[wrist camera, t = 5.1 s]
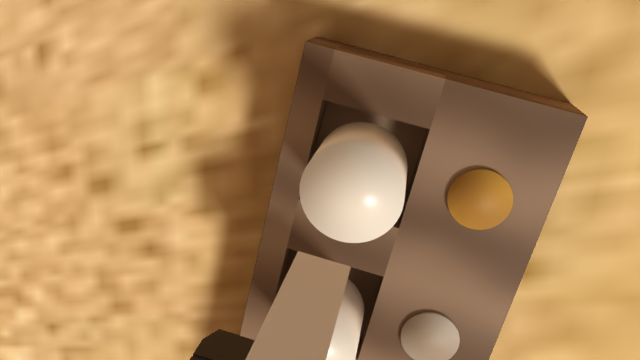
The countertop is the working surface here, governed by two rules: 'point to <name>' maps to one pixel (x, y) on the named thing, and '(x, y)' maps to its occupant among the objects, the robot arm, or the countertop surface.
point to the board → (422, 199)
